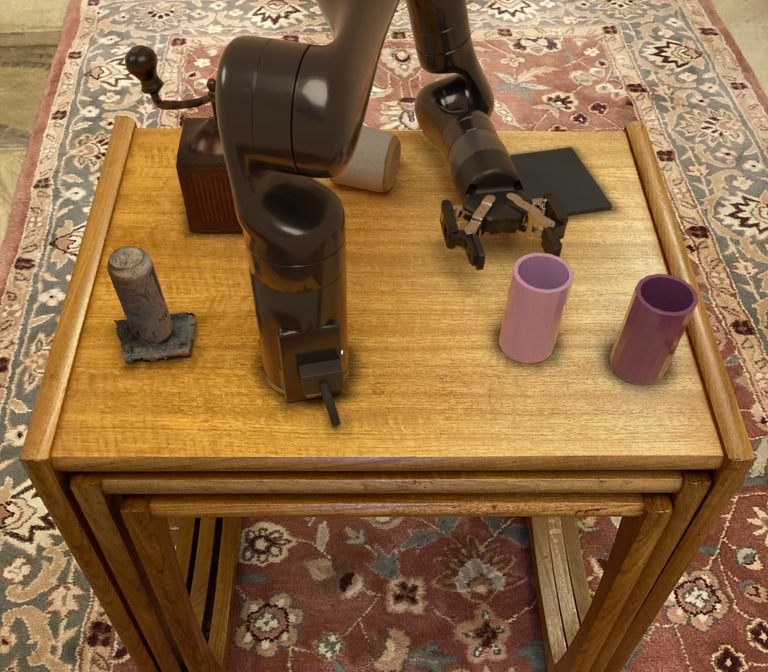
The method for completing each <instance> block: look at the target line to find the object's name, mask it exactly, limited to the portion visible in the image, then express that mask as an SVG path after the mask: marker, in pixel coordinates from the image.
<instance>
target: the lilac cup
mask: <svg viewBox="0 0 768 672" xmlns="http://www.w3.org/2000/svg"><path fill="white" fill-rule="evenodd" d="M574 275H575V273H574V270H573V268H572V267H571V265H570V263H568V262H567V261H566V260H565V259H564V258H562V257H561V256H560V257H557V256H554V255H552V254H547V253H544V252H533V253H527V254H525V255H522V256H521V257H519V258H517V260H516V262H514V264H513V267H512V272H511V277H510V282H509V285H508V286H509V287H508V291H507V295H506V296H507V297H506V301H505V307H504V311H503V316H502V321H501V326H500V331H499V338H498V345H499V348H500V350H501V351H502V353H503V354H504V355H505V356H507V357H508V358H509V359H511V360H513V361H515V362H518V363H522V364H537V363H540V362H543V361H545V360H546V359H548V358H550V356H551V355H552V354H553V351H554V348H555V346H556V342H557V339H558V336H559V332H560V328H561V326H562V323H563V318H564V315H565V311H566V308H567V304H568V301H569V297H570V293H571V290H572V286H573V283H574V279H575V278H574V277H575V276H574Z"/></svg>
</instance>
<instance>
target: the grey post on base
mask: <svg viewBox="0 0 768 672" xmlns="http://www.w3.org/2000/svg"><path fill="white" fill-rule="evenodd" d="M106 267H107V268H106V269H107V273H108V276H109V278H110V280H111V283H112V286H113V289H114V290H115V293H116V295H117V299H118V301H119V304H120V306H121V308H122V311H123V313H124V316H125V317H126V319H118V320H117V319H113V320H112V321H113V322H114V323H115V324H116V327H115V331H116V332H115V333H116V335H117V338H118V340H119V341H120V344H121V345H120V346H121V347H120V348H121V349H122V348H123V349H122V351H121V352H122V355H123V359H124V360H125V363H129V364H130V365H131V364H132V363H133V362H134V361H136V360H141V359H142V361H146V360H147V361H149V362H157V361H158V360H159V359H164V360H165V361H166V360H167V359H169V358H175V357H177V356H178V357H189V356H191V354H190V353H191V351H192V348H191V347H192V346H191V345H192V342H193V341H195V340H196V339H195V329H196V326H195V325H196V317H197V315H196V314H195V312H189V311H188V312H187V311H182V312H175V313H173V312H171V313H170V311H169V308H168V305H167V302H166V299H165V296H164V293H163V290H162V287H161V285H160V281H159V277H158V275H157V271H156V269H155V266H154V263H153V259H152V258H151V256H150V255H149V254H148V253H147V251H145V250H144V249H143V248H142V247H138V246H134V245H129V246H125V245H124V246H121V247H119V248H116V249H114V250H113V252H112V253H111V254H110V255H109V257H108V260H107V265H106ZM192 317H194V318H192Z"/></svg>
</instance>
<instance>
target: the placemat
mask: <svg viewBox="0 0 768 672" xmlns="http://www.w3.org/2000/svg"><path fill="white" fill-rule="evenodd" d="M509 155H510V158H511V160H512V162H513V164H514V166H515V168H516V171H517V173H518V175H519V177H520V179H521V182H522V185H523V189H524V192H525V193H526V194H527V195H528V196H530V197H531V199H537V198H543V196H544V192H546V191H551V192H553V193H554V195H555V196H556V198H557V200H558V201H559V203H560V205H561V206H562V208H563V210H564V211H565V213H566V215H567V216H568V217H570V216H575V215H576V216H577V215H582V214H583V215H584V214H589V213H596V212H604V211H610V210H612V208H613V205H612V203H611V202H610V200H609V199H608V198H607V196H606V195H605V193H604V191H602V189H601V188H600V186H599V185H598V183H597V182H596V180H595V179H594V178H593V176H592V174H591V172H589V170H588V169H587V168H586V166H585V164H584V163H583V162H582V160H581V159H580V157H579V156H578V154H577V153H576V152H575V150H574V149H573V147H571V146H570V147H569V146H568V147H563V148H555V149H548V150H547V149H546V150H540V151H532V152H525V153H517V154H509ZM528 219H529V218H527V219H526V221H525V223H528Z"/></svg>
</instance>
